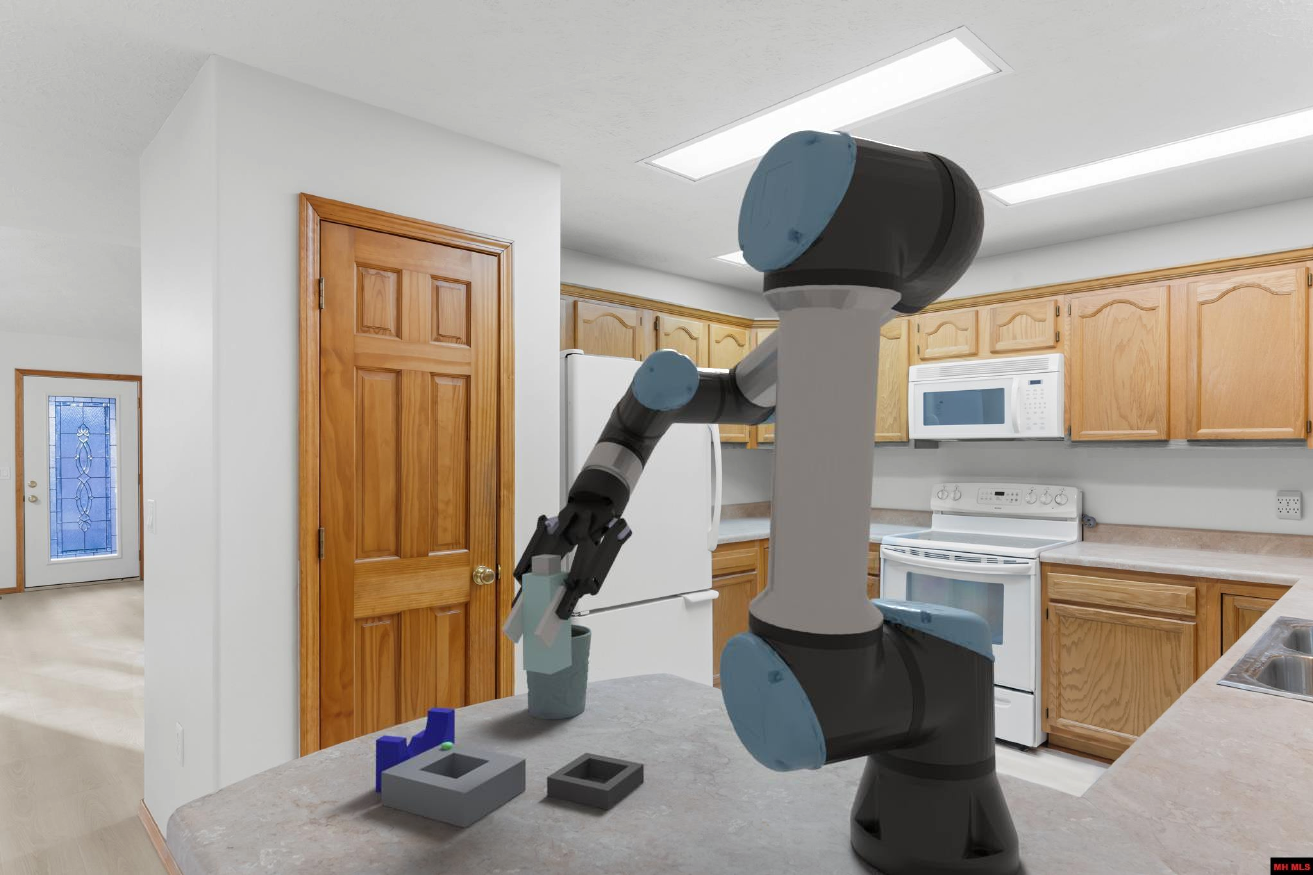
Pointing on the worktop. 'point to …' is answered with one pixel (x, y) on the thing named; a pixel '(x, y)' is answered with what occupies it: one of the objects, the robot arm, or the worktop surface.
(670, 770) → the worktop surface
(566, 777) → the frame
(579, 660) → the grey-green tumbler cup
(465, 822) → the block
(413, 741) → the cable clip
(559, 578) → the capped teal pillar
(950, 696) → the robot arm
